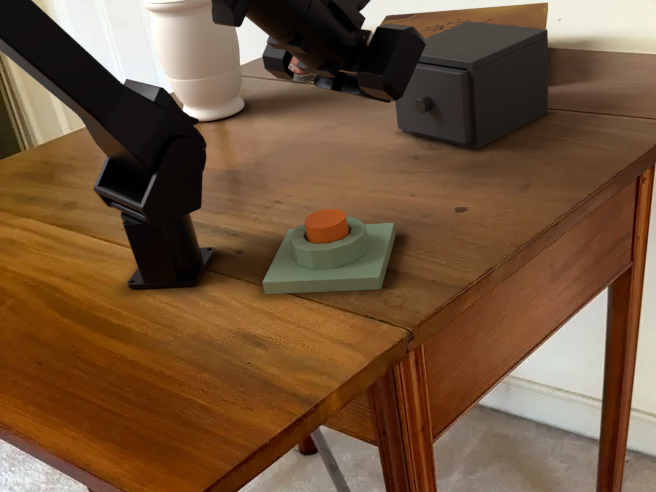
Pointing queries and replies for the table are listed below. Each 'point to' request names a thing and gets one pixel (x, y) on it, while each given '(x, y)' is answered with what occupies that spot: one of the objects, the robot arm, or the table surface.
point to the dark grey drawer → (437, 103)
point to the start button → (326, 226)
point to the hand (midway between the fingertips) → (389, 98)
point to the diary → (473, 18)
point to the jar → (197, 57)
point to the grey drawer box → (495, 75)
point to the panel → (332, 260)
